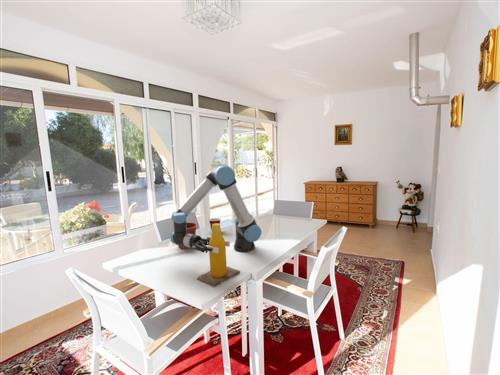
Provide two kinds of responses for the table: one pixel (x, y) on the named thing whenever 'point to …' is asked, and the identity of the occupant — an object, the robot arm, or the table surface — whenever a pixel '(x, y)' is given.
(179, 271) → the table surface
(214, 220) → the plastic cup
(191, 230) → the flower pot
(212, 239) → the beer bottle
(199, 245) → the robot arm
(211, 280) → the walnut board
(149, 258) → the table surface
